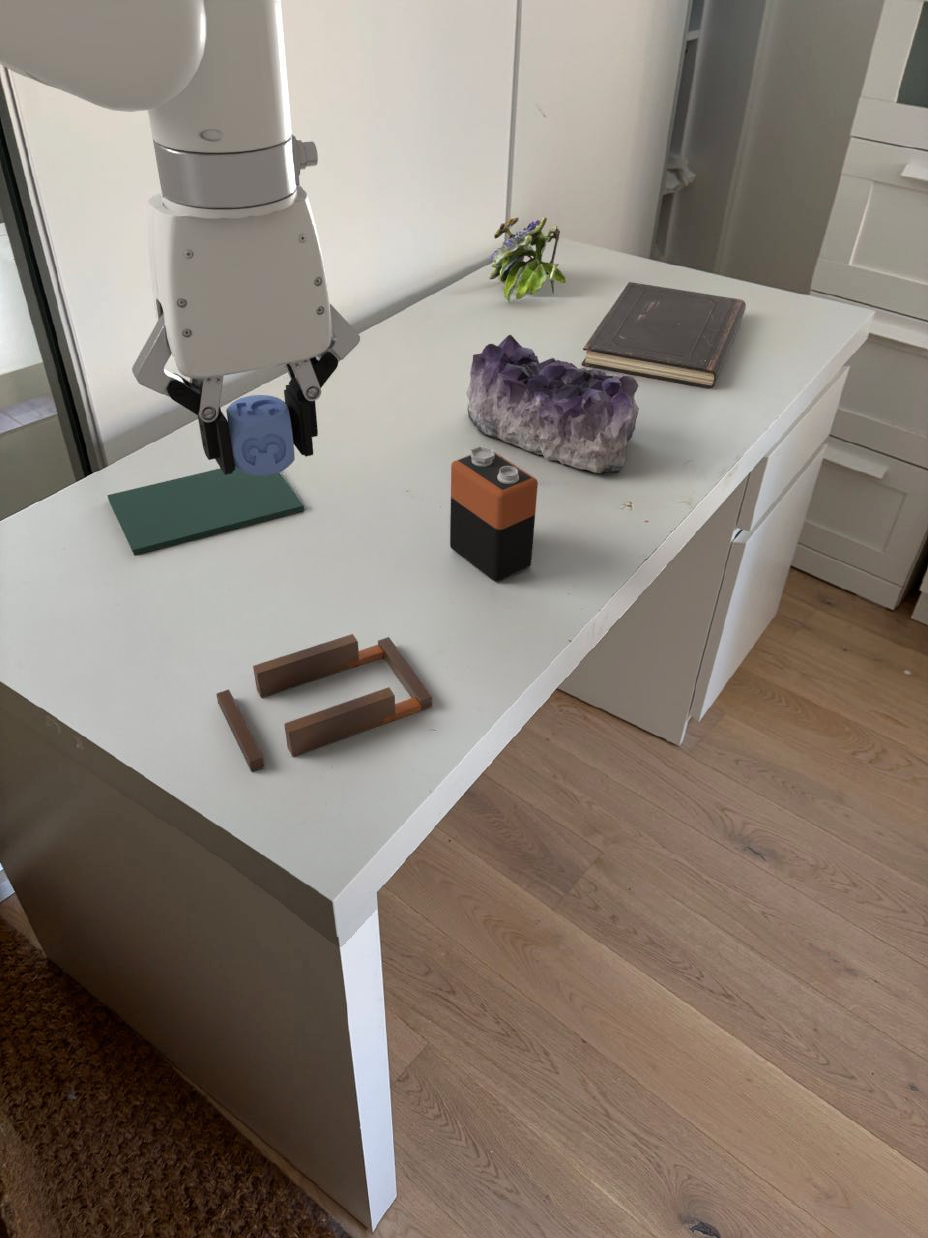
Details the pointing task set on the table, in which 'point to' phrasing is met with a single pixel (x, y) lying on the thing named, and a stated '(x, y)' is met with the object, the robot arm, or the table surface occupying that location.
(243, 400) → the decorative dice
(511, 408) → the geode
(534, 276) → the passion flower
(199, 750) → the table surface
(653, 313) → the hardcover book
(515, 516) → the battery
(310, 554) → the table surface
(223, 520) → the mat
